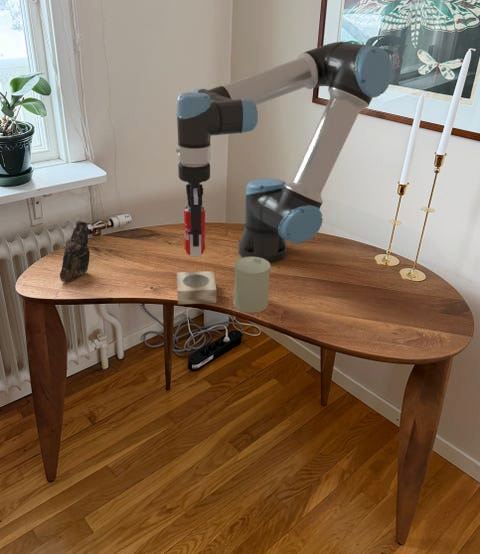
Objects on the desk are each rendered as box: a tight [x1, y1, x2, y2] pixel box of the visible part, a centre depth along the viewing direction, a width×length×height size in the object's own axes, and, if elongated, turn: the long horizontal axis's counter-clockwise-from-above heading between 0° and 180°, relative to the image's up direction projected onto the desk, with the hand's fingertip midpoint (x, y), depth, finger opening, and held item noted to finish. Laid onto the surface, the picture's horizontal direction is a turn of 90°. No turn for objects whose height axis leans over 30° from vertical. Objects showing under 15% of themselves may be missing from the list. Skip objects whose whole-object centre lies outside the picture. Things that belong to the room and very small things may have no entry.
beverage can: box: [183, 205, 206, 256], centre depth 131 cm, size 5×5×12 cm
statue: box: [59, 220, 91, 283], centre depth 144 cm, size 6×12×15 cm, turn 154°
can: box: [233, 257, 271, 314], centre depth 134 cm, size 9×9×12 cm
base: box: [176, 270, 217, 305], centre depth 139 cm, size 10×10×4 cm
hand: (195, 251), depth 134 cm, fingers closed on beverage can, 5 cm apart
